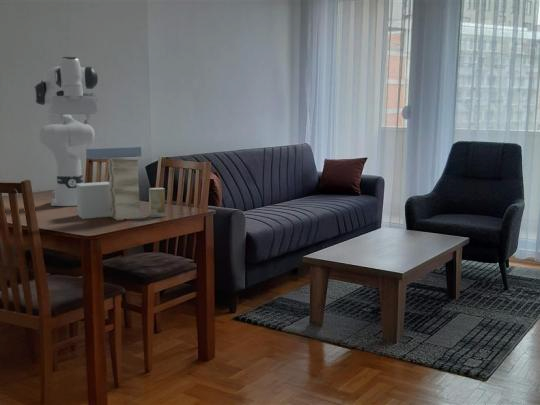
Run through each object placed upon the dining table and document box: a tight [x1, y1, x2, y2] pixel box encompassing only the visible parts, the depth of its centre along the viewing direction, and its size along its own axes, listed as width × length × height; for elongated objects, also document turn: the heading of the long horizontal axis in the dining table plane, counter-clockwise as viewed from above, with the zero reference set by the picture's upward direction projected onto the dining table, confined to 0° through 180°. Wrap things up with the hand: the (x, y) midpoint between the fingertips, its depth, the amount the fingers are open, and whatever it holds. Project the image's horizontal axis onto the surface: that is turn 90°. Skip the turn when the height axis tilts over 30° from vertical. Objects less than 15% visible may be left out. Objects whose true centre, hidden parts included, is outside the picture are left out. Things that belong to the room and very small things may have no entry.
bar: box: [85, 146, 142, 160], centre depth 260 cm, size 4×22×4 cm, turn 117°
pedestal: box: [106, 157, 141, 221], centre depth 264 cm, size 11×11×26 cm
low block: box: [76, 181, 111, 220], centre depth 270 cm, size 10×14×14 cm
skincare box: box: [148, 187, 166, 218], centre depth 268 cm, size 6×4×12 cm
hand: (75, 124), depth 276 cm, fingers open, 8 cm apart
